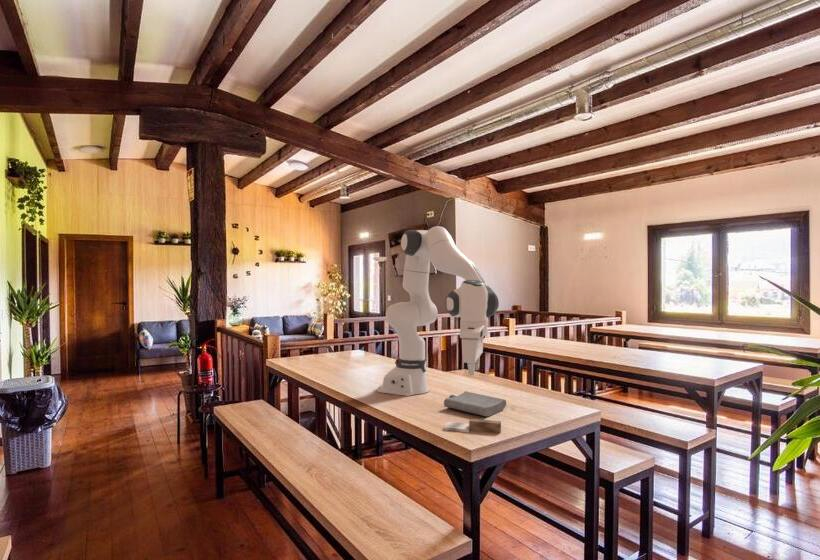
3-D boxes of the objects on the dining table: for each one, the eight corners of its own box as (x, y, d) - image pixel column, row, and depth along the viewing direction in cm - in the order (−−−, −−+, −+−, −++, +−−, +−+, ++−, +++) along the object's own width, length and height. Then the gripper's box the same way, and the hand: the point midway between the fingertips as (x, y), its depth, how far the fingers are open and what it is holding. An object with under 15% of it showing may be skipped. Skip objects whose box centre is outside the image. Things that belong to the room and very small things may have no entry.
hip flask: (483, 408, 161) (438, 397, 174) (483, 419, 161) (438, 408, 174) (506, 398, 173) (462, 389, 186) (506, 409, 173) (462, 399, 186)
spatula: (501, 429, 151) (501, 419, 151) (499, 435, 145) (499, 425, 145) (447, 424, 156) (447, 415, 156) (444, 430, 150) (444, 420, 150)
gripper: (469, 325, 161) (469, 365, 161) (458, 333, 142) (458, 378, 142) (487, 326, 159) (487, 366, 160) (479, 334, 140) (479, 379, 140)
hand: (473, 371), depth 151 cm, fingers open, 8 cm apart
